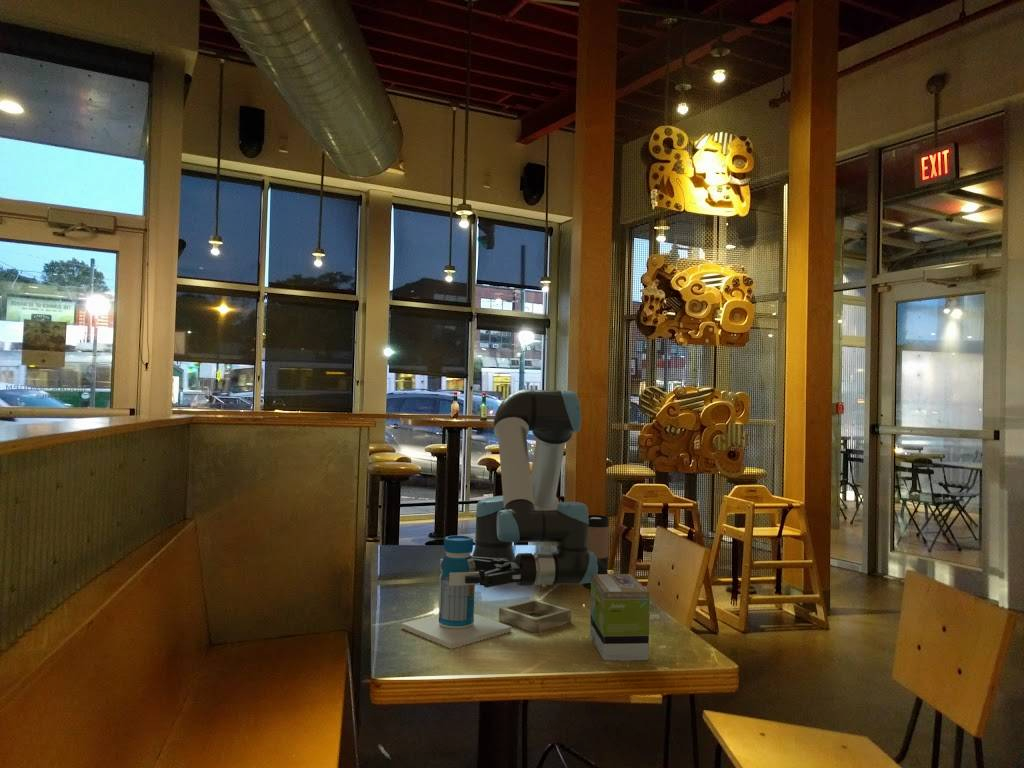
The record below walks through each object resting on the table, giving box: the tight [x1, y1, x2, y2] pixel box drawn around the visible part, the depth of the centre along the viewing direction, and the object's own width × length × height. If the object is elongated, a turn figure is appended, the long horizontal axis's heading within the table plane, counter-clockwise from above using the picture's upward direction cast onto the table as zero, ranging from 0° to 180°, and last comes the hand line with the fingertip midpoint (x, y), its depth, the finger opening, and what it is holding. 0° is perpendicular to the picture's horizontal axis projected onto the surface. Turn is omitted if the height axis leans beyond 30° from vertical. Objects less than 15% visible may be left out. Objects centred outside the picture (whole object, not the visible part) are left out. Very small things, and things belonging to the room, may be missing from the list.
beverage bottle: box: [438, 534, 476, 629], centre depth 165 cm, size 8×8×20 cm
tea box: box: [589, 573, 650, 662], centre depth 155 cm, size 15×10×15 cm, turn 5°
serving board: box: [401, 613, 512, 650], centre depth 164 cm, size 18×18×1 cm
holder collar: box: [498, 598, 572, 634], centre depth 173 cm, size 12×12×3 cm
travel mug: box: [582, 514, 610, 588], centre depth 210 cm, size 8×8×20 cm
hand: (444, 571), depth 164 cm, fingers open, 13 cm apart
